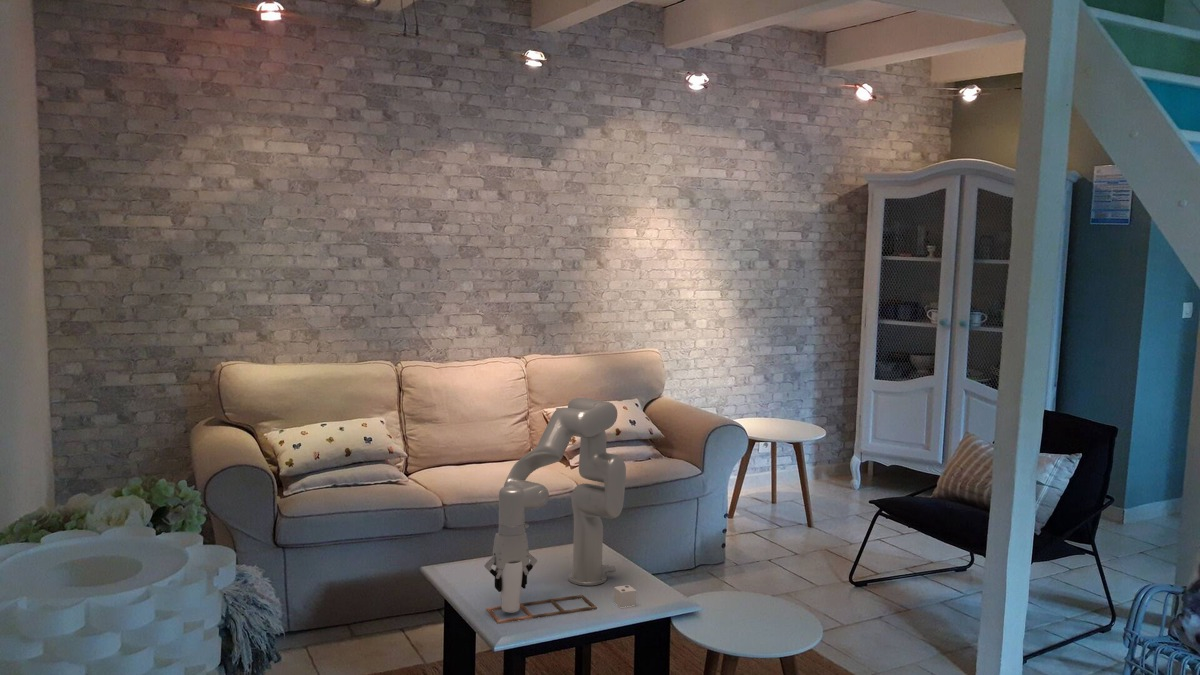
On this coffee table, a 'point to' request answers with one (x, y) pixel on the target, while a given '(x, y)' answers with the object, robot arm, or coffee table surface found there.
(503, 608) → the drinking glass
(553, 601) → the copper window frame
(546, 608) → the coffee table surface
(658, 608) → the coffee table surface
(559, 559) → the coffee table surface
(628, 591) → the die
